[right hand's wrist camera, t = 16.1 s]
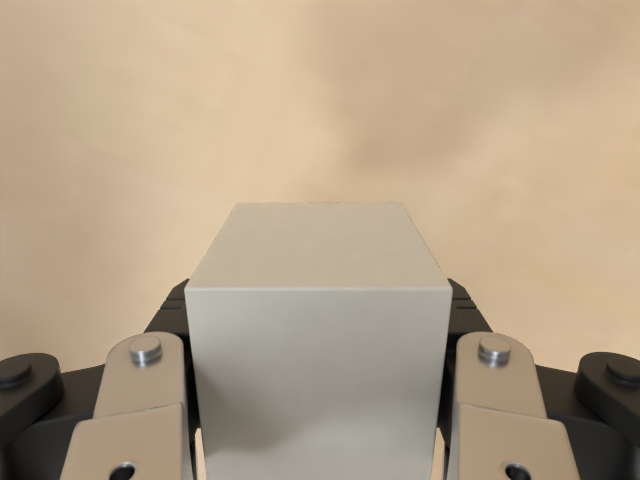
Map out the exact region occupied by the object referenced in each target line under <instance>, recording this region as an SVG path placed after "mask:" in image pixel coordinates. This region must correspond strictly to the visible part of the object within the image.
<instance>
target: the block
mask: <svg viewBox="0 0 640 480" xmlns="http://www.w3.org/2000/svg"><path fill="white" fill-rule="evenodd" d="M184 292H185V300H186V309H187V317H188V325H189V334H190V342H191V350H192V359H193V367H194V375H195V384H196V392H197V400H198V409H199V417H200V425H201V434H202V442H203V450H204V459H205V467H206V475H207V480H430V479H431V471H432V462H433V454H434V445H435V437H436V428H437V420H438V411H439V403H440V394H441V386H442V377H443V369H444V360H445V352H446V343H447V335H448V326H449V318H450V309H451V301H452V292H453V289H452V286H451V285H450V283H449V281H448V280H447V278H446V276H445V275H444V273H443V271H442V270H441V268H440V266H439V265H438V263H437V262H436V260H435V258H434V257H433V255H432V253H431V252H430V250H429V248H428V247H427V245H426V243H425V242H424V240H423V238H422V237H421V235H420V233H419V232H418V230H417V228H416V227H415V225H414V223H413V222H412V220H411V218H410V217H409V215H408V213H407V212H406V210H405V208H404V207H403V205H402V203H236V205H235V207H234V208H233V210H232V212H231V213H230V215H229V216H228V218H227V220H226V221H225V223H224V225H223V226H222V228H221V230H220V231H219V233H218V234H217V236H216V238H215V239H214V241H213V243H212V244H211V246H210V247H209V249H208V251H207V252H206V254H205V256H204V257H203V259H202V260H201V262H200V264H199V265H198V267H197V269H196V270H195V272H194V273H193V275H192V277H191V278H190V280H189V282H188V283H187V285H186V287H185V289H184Z"/></svg>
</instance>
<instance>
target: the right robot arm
mask: <svg viewBox="0 0 640 480" xmlns="http://www.w3.org/2000/svg"><path fill="white" fill-rule="evenodd" d="M189 280H190V279H186V280H185V281H183V282H182V283H180V284H179V285H177V286H175V287H174V288H173V289H172V291H171V292H170V294H169V295H168V297H167V298H166V301H164V303H163V304H162V306H161V307H160V310H158V312H157V313H156V315H155V316H154V318H153V319H152V321H151V322H150V324H149V325H148V327H147V328H146V330H145V331H144V333H142V334H138V335H135V336H132V337H129V338H127V339H125V340H123V341H122V342H120V343H118V344H117V345H116V346H114V347H113V348H112V349H111V351H110V352H109V354H108V356H107V359H106V364H103V365H100V366H96V367H91V368H87V369H81V370H76V371H71V372H66V373H61V371H60V367H59V363H58V360H57V359H56V358H55V357H53V356H52V355H49V354H44V353H29V354H23V355H18V356H14V357H11V358H7V359H5V360H2V361H0V480H198V462H197V449H196V441H195V433H196V430H197V428H201V425H200V417H199V409H198V400H197V392H196V384H195V375H194V367H193V359H192V350H191V342H190V334H189V325H188V317H187V309H186V300H185V292H184V289H185V287H186V285H187V283H188V282H189ZM447 280H448V281H449V283H450V285H451V286H452V289H453V292H452V301H451V309H450V318H449V326H448V335H447V343H446V352H445V360H444V369H443V377H442V386H441V394H440V403H439V411H438V420H437V428H440V430H441V434H442V437H443V439H444V449H443V462H442V480H640V361H639V360H637V359H634V358H631V357H628V356H625V355H621V354H616V353H610V352H594V353H589V354H586V355H585V356H583V357H582V358H581V360H580V363H579V367H578V371H577V373H574V372H568V371H563V370H558V369H553V368H548V367H543V366H539V365H535V364H534V359H533V356H532V354H531V352H530V351H529V349H528V348H527V347H526V346H524V345H523V344H522V343H520V342H518V341H517V340H515V339H513V338H511V337H508V336H505V335H502V334H498V333H493V331H492V330H491V328H490V327H489V325H488V323H487V322H486V320H485V319H484V317H483V316H482V314H481V313H480V311H479V310H478V309H477V307H476V305H475V304H474V302H473V301H472V300H471V297H470V296H469V294H468V293H467V291H466V290H465V288H464V287H462V286H461V285H459V284H458V283H456V282H455V281H453V280H452V279H450V278H447Z"/></svg>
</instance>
